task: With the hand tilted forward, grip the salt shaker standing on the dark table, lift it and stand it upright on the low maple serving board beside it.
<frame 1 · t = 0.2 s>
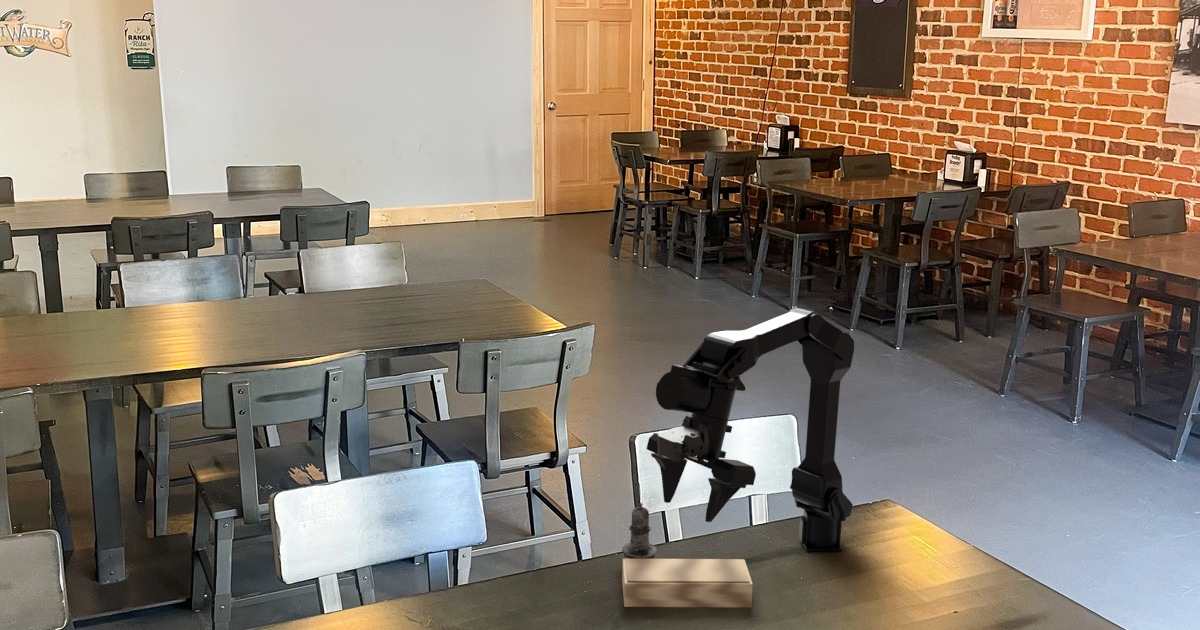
hand: (687, 511, 167), 15 cm above the table, tool tilted 15°, fingers open, 9 cm apart
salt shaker: (638, 569, 181), on the table
deck: (685, 593, 173), on the table
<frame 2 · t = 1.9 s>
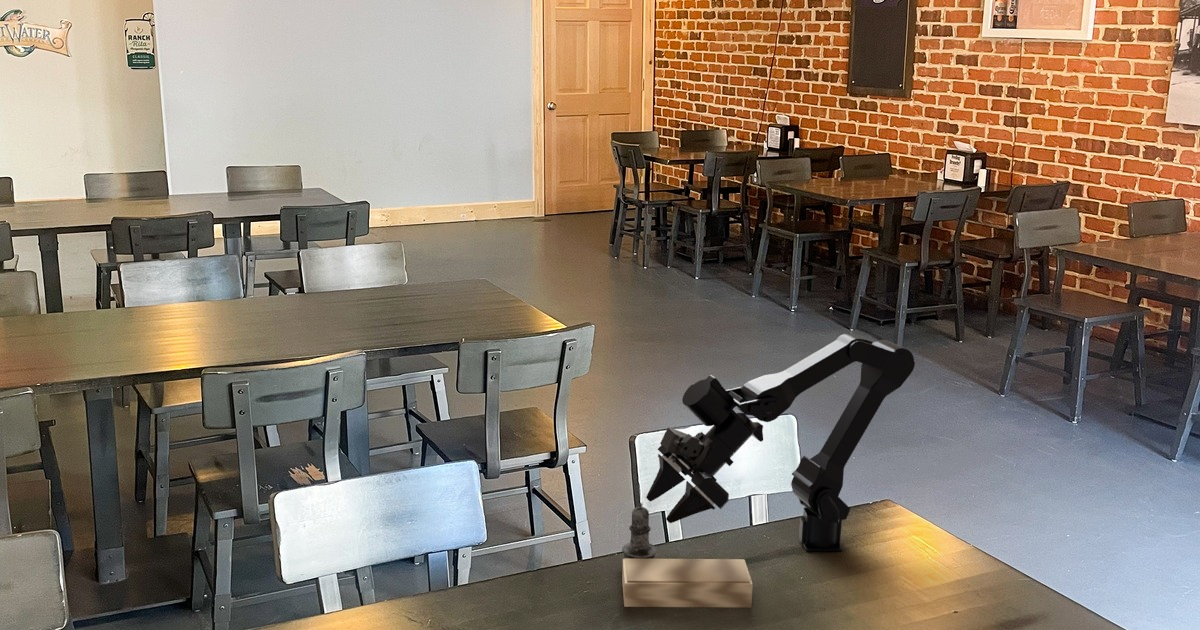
hand: (657, 510, 180), 10 cm above the table, tool tilted 45°, fingers open, 9 cm apart
nothing on the table moved.
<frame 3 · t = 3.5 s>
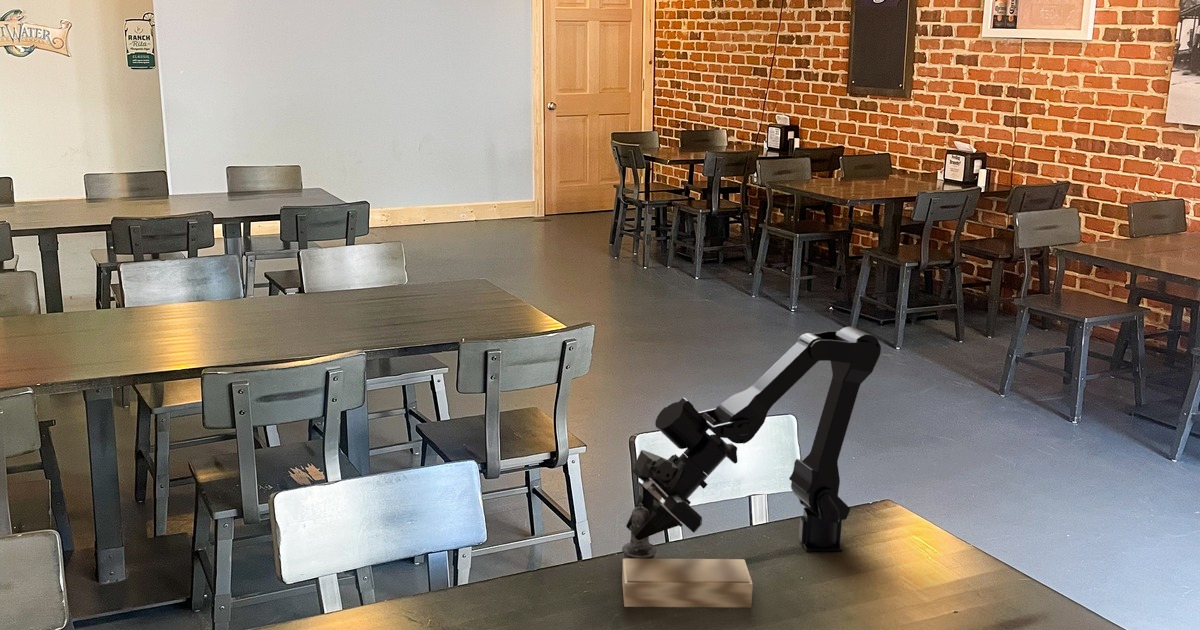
hand: (632, 533, 179), 7 cm above the table, tool tilted 45°, fingers closed on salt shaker, 4 cm apart
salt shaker: (638, 569, 181), on the table, touching gripper
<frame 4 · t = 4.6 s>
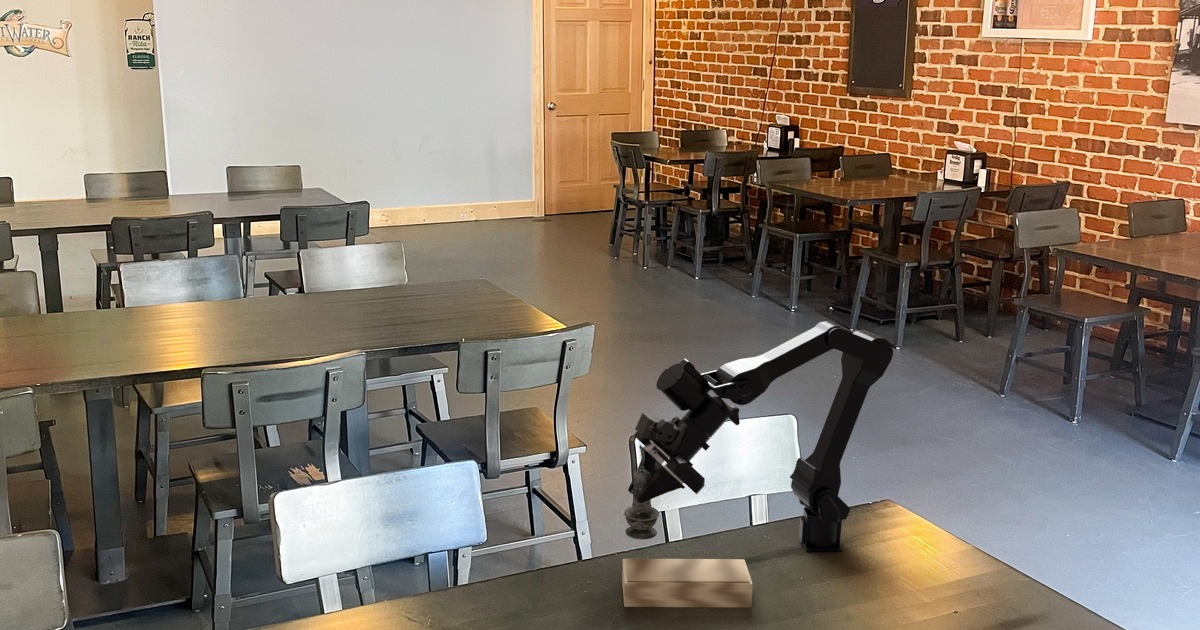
hand: (634, 496, 177), 13 cm above the table, tool tilted 45°, fingers closed on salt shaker, 4 cm apart
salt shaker: (641, 533, 179), point 6 cm above the table, touching gripper
when the fingers open (12 cm above the table, at t = 5.9 s): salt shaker stays where it is, resting on deck.
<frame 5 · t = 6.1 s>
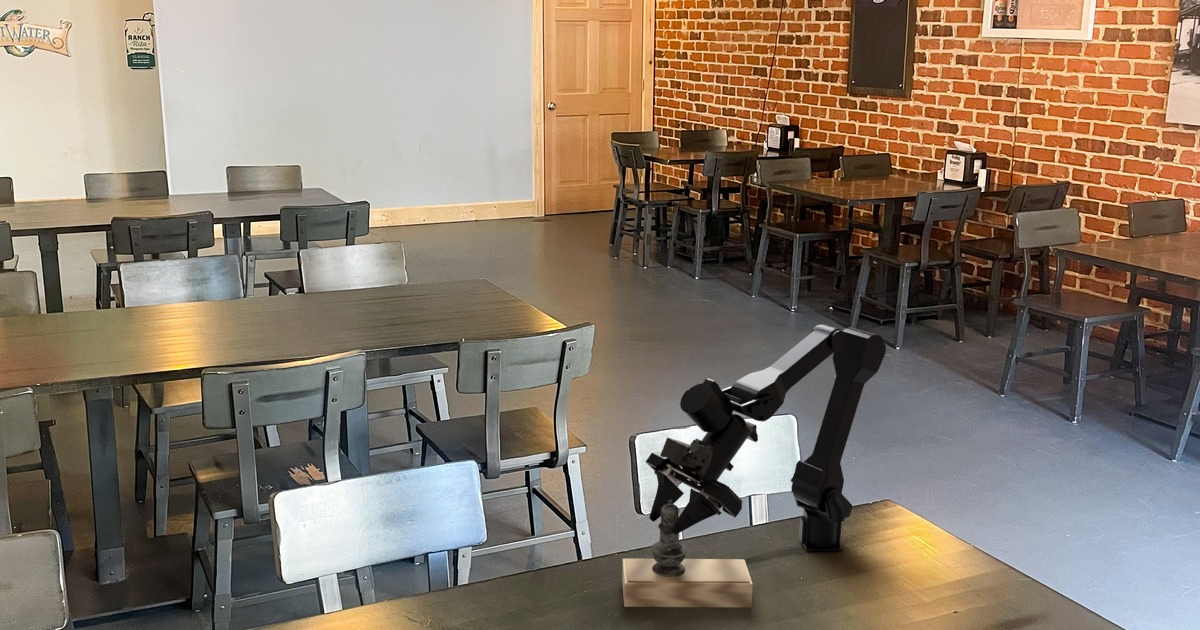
hand: (662, 526, 169), 12 cm above the table, tool tilted 45°, fingers open, 5 cm apart
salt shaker: (668, 570, 172), point 4 cm above the table, touching deck
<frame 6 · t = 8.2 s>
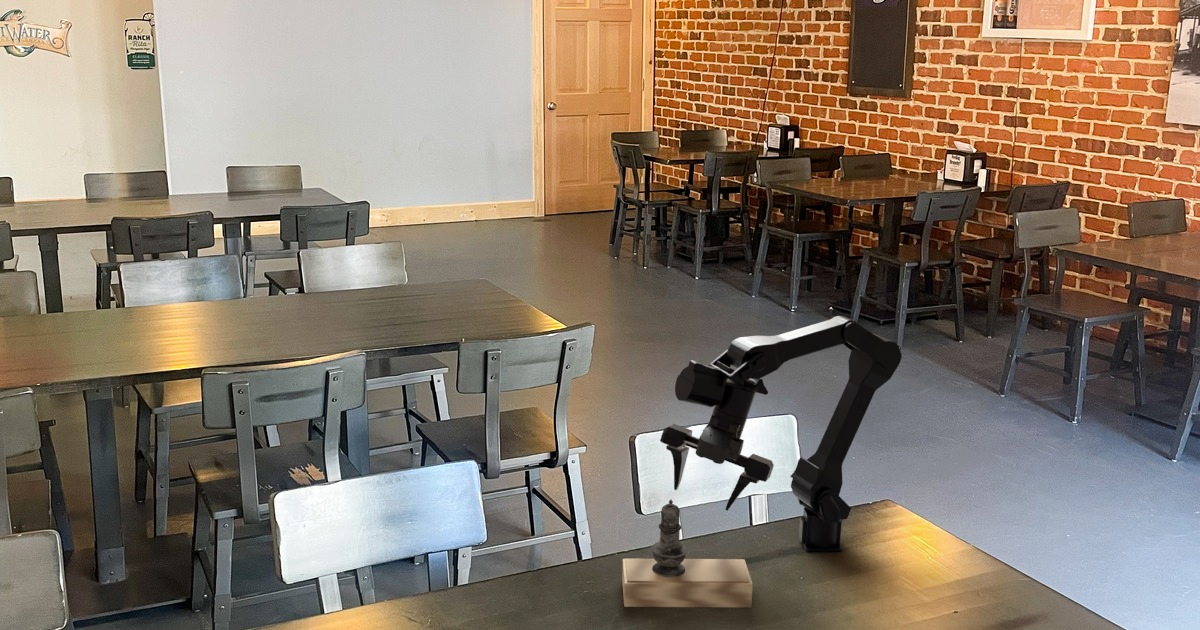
hand: (701, 499, 180), 12 cm above the table, tool tilted 20°, fingers open, 9 cm apart
nothing on the table moved.
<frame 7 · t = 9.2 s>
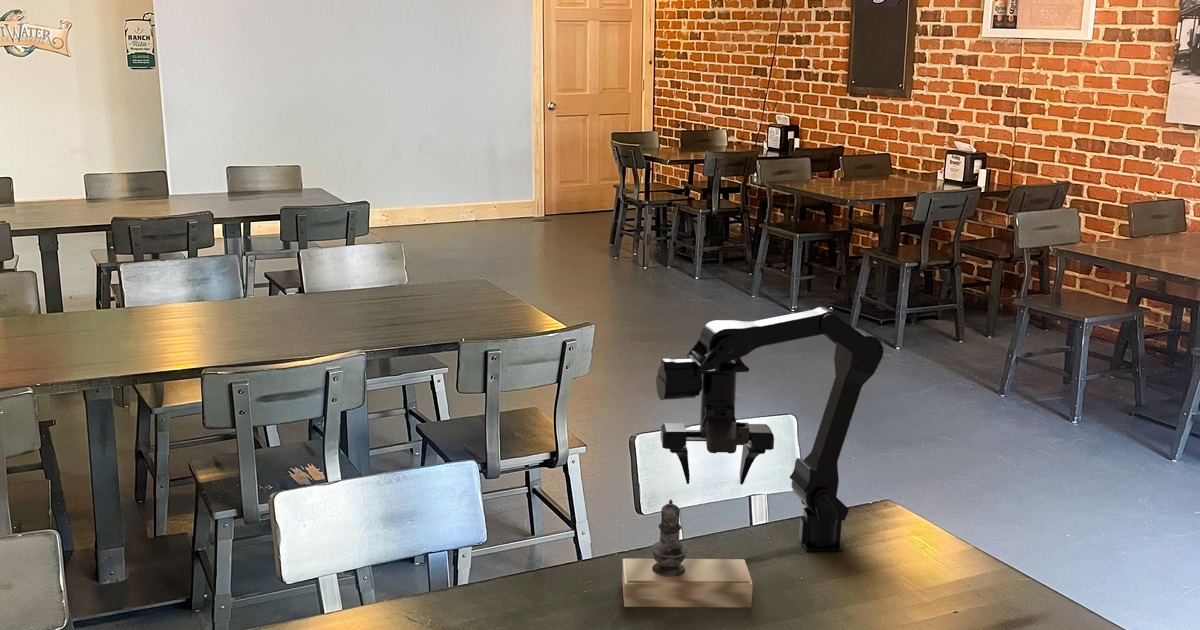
hand: (714, 483, 184), 13 cm above the table, tool pointing down, fingers open, 9 cm apart
nothing on the table moved.
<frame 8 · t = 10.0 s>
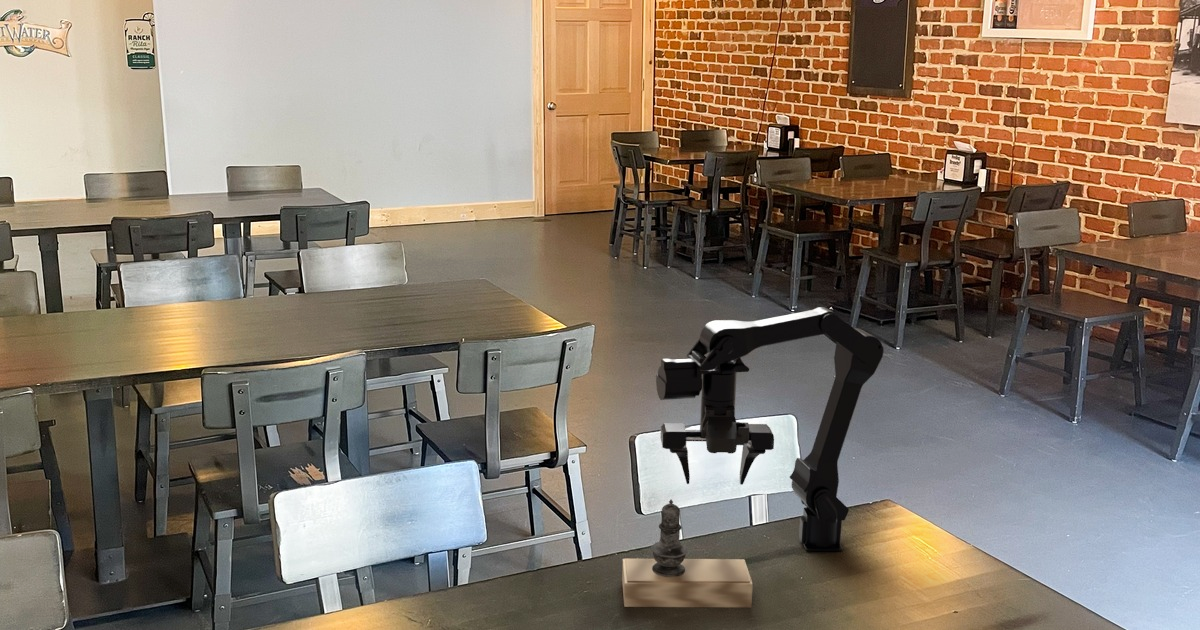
hand: (714, 483, 184), 13 cm above the table, tool pointing down, fingers open, 9 cm apart
nothing on the table moved.
at the end: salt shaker touching deck; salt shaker inside the target area on the deck (2.8 cm from its centre), point 4.1 cm above the deck's base; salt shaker tilted 0° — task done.
